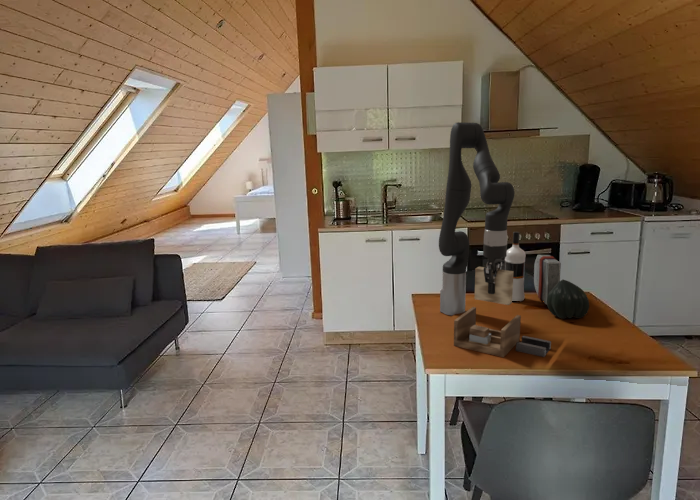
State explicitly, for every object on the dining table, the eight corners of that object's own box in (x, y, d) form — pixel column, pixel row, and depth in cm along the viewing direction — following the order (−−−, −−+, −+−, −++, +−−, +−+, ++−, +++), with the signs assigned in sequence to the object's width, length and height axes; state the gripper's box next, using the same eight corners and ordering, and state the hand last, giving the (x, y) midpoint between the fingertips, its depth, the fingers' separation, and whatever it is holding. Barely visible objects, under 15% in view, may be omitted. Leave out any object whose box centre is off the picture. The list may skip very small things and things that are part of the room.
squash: (594, 312, 178) (588, 275, 185) (550, 311, 182) (547, 275, 189) (586, 326, 190) (581, 291, 197) (545, 325, 194) (542, 291, 201)
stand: (515, 353, 158) (515, 343, 157) (522, 345, 164) (523, 335, 164) (543, 359, 153) (544, 349, 152) (550, 351, 159) (551, 341, 159)
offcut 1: (469, 334, 161) (469, 328, 161) (474, 330, 164) (474, 324, 163) (484, 337, 158) (484, 331, 157) (488, 334, 161) (489, 328, 160)
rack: (453, 348, 163) (454, 320, 161) (472, 333, 176) (472, 306, 174) (503, 360, 154) (504, 330, 151) (519, 343, 166) (520, 315, 164)
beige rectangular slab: (474, 299, 168) (475, 268, 165) (477, 296, 170) (478, 266, 168) (508, 305, 161) (510, 273, 158) (511, 302, 163) (513, 271, 161)
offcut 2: (469, 340, 161) (469, 334, 161) (473, 336, 165) (473, 330, 164) (487, 344, 158) (487, 338, 158) (490, 340, 161) (491, 333, 161)
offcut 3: (468, 346, 162) (468, 340, 162) (473, 342, 165) (473, 336, 165) (485, 350, 158) (485, 344, 158) (490, 346, 162) (490, 340, 161)
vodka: (500, 301, 210) (503, 233, 204) (504, 294, 218) (507, 229, 212) (522, 303, 206) (526, 234, 200) (525, 297, 214) (529, 230, 208)
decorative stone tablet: (562, 261, 194) (548, 251, 224) (545, 260, 196) (533, 251, 225) (560, 308, 197) (546, 292, 226) (543, 307, 198) (531, 291, 227)
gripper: (491, 238, 169) (489, 285, 172) (476, 245, 158) (474, 296, 161) (513, 240, 164) (511, 288, 168) (499, 247, 153) (496, 299, 157)
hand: (493, 292), depth 165 cm, fingers closed on beige rectangular slab, 3 cm apart
